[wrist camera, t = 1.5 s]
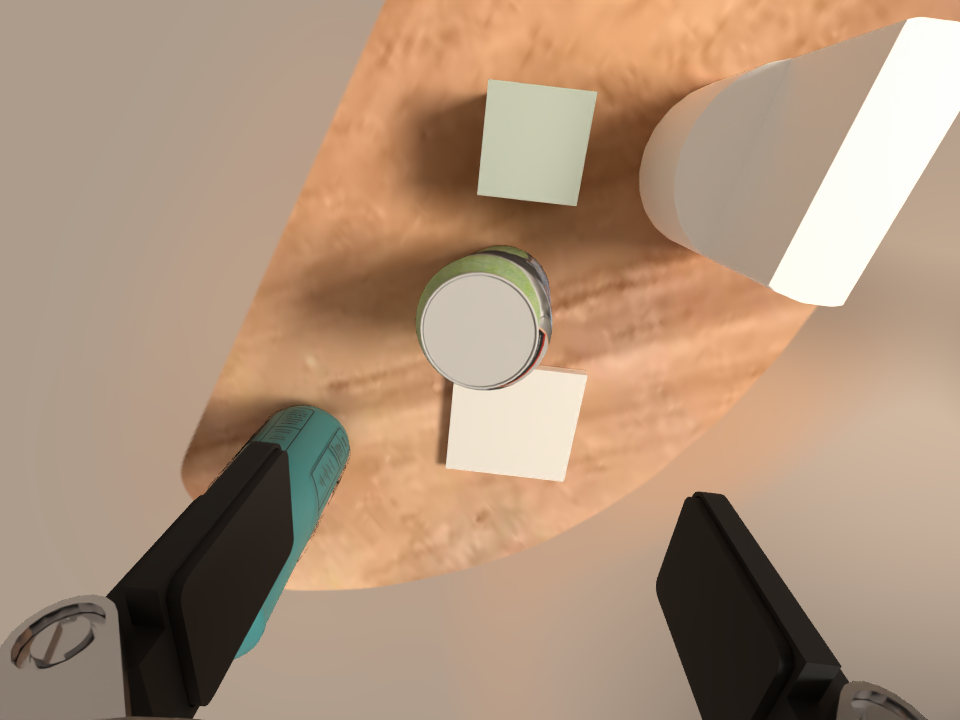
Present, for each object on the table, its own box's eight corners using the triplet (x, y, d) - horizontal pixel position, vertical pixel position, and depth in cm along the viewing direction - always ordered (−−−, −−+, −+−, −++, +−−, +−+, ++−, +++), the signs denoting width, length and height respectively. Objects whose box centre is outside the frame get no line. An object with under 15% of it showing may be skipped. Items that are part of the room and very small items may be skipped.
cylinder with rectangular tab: (677, 58, 24) (820, -22, 13) (833, 104, 25) (1092, 63, 14) (615, 227, 28) (689, 272, 17) (753, 264, 29) (910, 331, 18)
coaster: (456, 355, 32) (455, 360, 31) (585, 370, 32) (587, 375, 31) (446, 461, 36) (445, 468, 35) (562, 474, 36) (563, 481, 35)
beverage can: (501, 350, 32) (501, 452, 21) (420, 276, 30) (373, 346, 19) (570, 286, 30) (610, 361, 19) (487, 202, 28) (478, 232, 17)
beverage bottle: (284, 379, 33) (18, 650, 15) (371, 411, 34) (220, 706, 16) (266, 448, 36) (19, 752, 17) (347, 476, 37) (194, 796, 18)
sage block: (490, 92, 26) (488, 78, 21) (580, 103, 26) (597, 91, 21) (481, 188, 28) (477, 194, 23) (564, 198, 28) (576, 206, 23)
